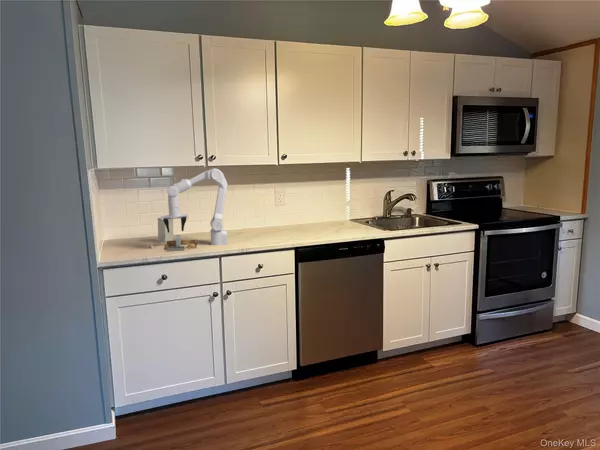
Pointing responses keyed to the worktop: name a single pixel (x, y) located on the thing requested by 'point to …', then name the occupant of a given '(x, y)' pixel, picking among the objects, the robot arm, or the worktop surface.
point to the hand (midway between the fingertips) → (175, 231)
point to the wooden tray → (182, 243)
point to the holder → (175, 248)
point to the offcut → (190, 245)
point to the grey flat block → (178, 241)
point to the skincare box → (165, 231)
